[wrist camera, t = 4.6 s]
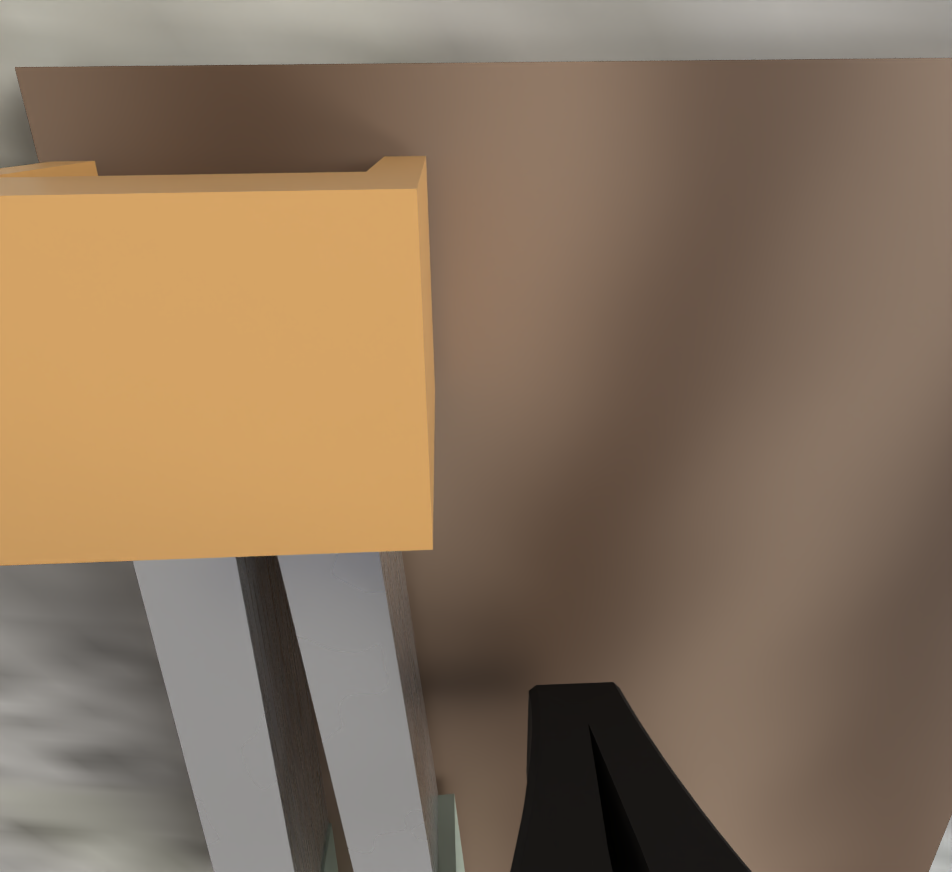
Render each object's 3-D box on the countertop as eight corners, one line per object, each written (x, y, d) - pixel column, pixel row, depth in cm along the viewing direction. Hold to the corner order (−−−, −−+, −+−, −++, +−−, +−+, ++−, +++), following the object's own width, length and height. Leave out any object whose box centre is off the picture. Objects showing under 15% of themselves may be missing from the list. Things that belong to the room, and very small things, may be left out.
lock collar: (426, 156, 8) (417, 189, 5) (435, 389, 10) (432, 550, 6) (51, 161, 8) (-238, 200, 5) (110, 398, 10) (-84, 568, 6)
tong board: (1180, 60, 10) (1532, 36, 6) (896, 842, 16) (1002, 1012, 13) (57, 71, 9) (-142, 51, 6) (245, 877, 16) (198, 1063, 13)
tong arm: (408, 460, 10) (401, 536, 8) (468, 894, 14) (472, 1008, 13) (305, 470, 10) (275, 548, 8) (394, 901, 14) (388, 1015, 13)
